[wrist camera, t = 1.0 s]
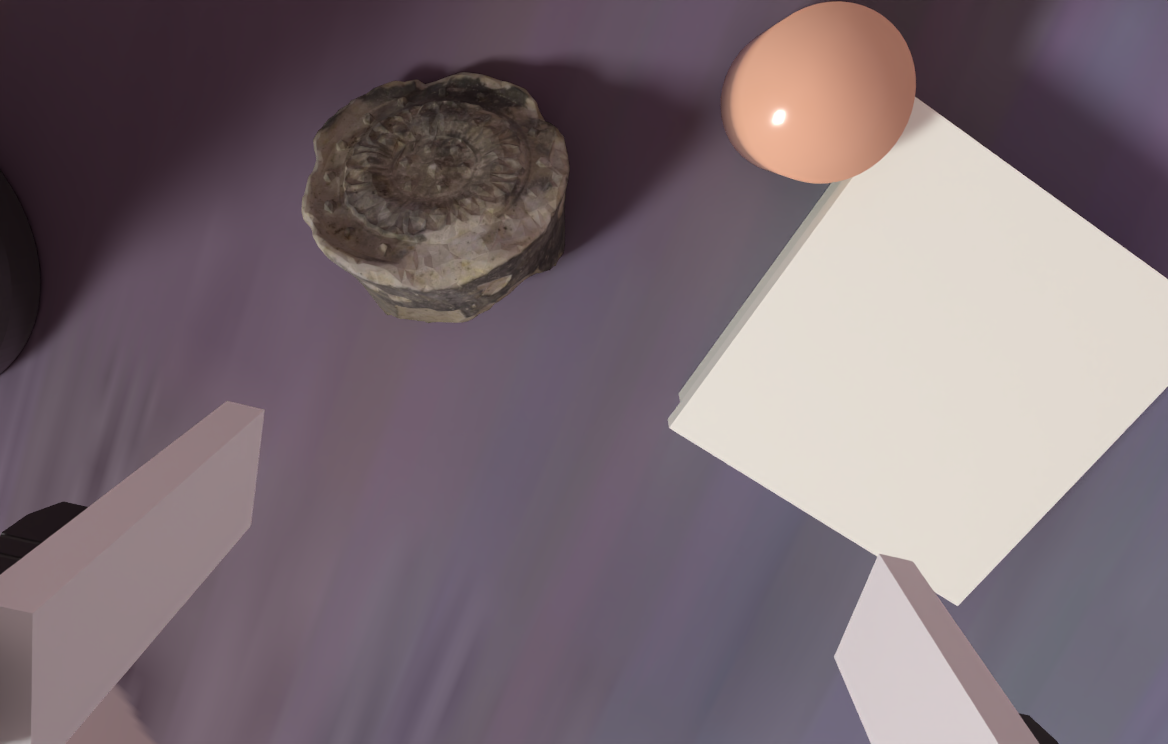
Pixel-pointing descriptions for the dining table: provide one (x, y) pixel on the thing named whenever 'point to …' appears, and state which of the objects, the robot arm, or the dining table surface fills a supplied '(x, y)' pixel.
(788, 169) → the peach rounded glossy part
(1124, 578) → the dining table surface
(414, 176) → the fossil
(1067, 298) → the stand
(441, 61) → the dining table surface
